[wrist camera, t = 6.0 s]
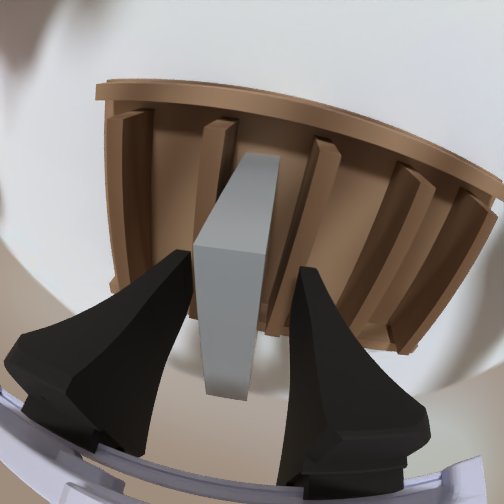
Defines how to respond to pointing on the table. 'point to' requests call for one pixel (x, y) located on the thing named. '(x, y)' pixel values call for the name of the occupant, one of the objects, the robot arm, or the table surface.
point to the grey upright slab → (234, 274)
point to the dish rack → (298, 200)
